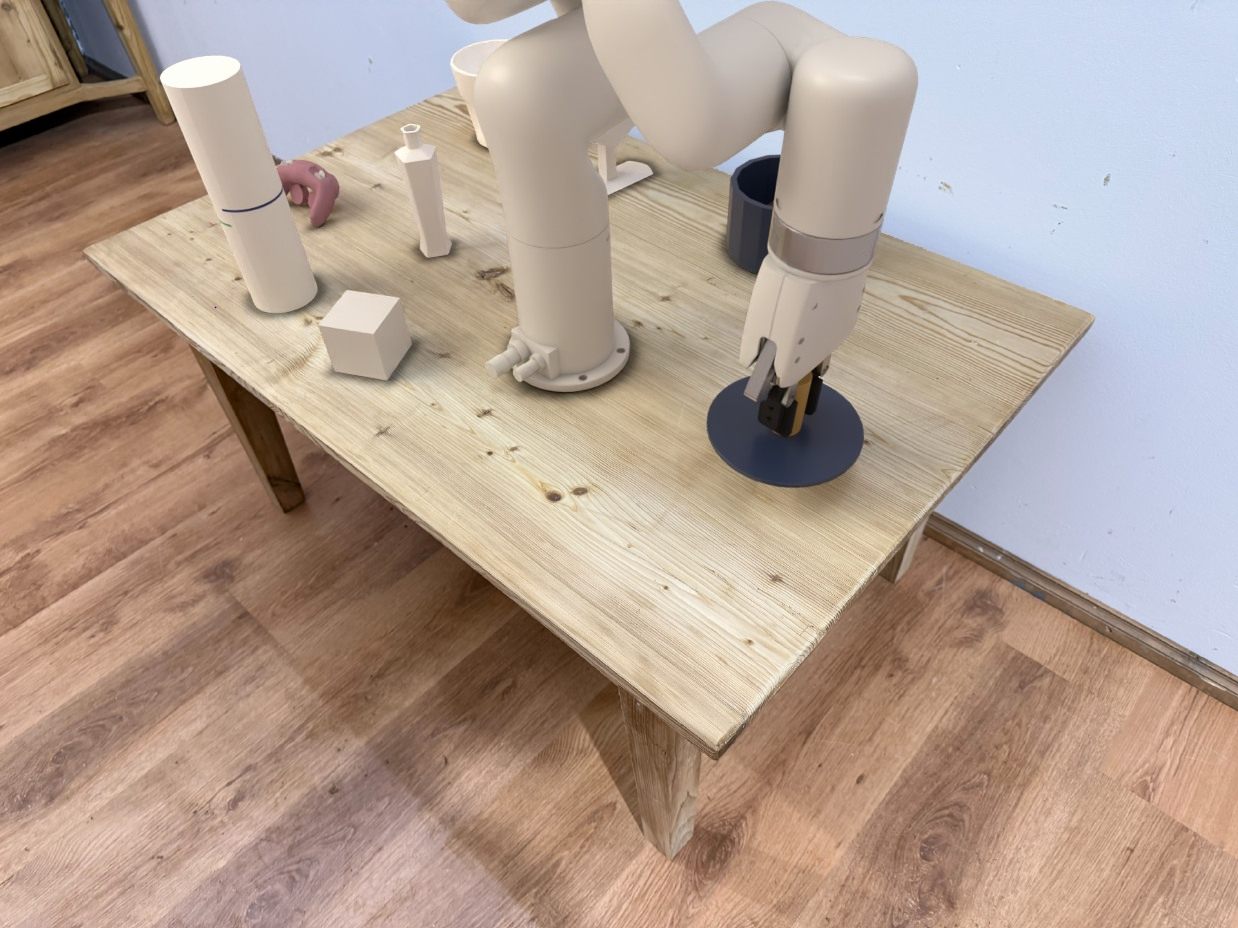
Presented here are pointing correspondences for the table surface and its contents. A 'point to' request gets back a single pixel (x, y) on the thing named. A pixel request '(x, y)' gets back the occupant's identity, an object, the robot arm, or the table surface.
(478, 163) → the table surface
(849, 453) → the lid
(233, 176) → the cylindrical container
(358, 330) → the white cube
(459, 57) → the cup
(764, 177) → the tin
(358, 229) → the table surface
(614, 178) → the heart sculpture
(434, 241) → the perfume bottle
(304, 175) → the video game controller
